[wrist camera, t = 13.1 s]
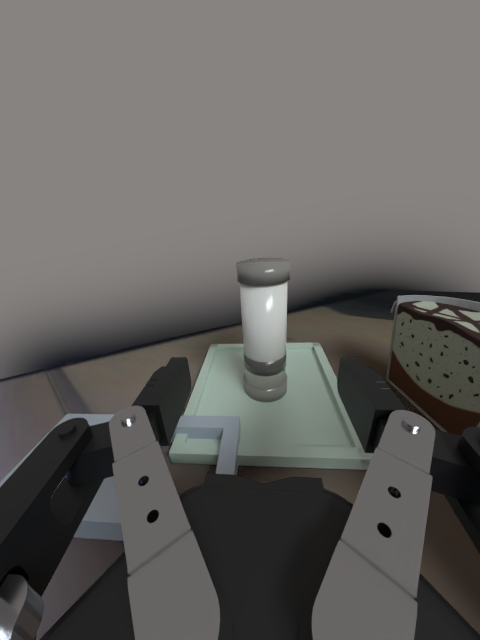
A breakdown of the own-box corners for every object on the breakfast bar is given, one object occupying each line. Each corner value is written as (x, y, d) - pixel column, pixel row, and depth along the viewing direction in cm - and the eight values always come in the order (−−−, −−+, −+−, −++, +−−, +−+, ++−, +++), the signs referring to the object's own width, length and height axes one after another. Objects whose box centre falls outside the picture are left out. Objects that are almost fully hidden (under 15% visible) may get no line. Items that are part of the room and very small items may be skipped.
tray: (171, 463, 19) (168, 453, 19) (211, 350, 36) (210, 344, 35) (372, 470, 18) (375, 459, 17) (318, 349, 34) (319, 342, 34)
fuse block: (-17, 531, 16) (-32, 514, 15) (74, 428, 23) (67, 413, 23) (231, 548, 14) (228, 529, 13) (241, 432, 22) (239, 416, 21)
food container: (556, 458, 18) (635, 344, 14) (483, 469, 18) (543, 354, 14) (424, 366, 29) (447, 289, 25) (377, 372, 29) (394, 294, 25)
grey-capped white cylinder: (243, 402, 25) (233, 268, 19) (245, 374, 29) (238, 259, 24) (289, 402, 24) (293, 266, 19) (284, 374, 29) (287, 257, 23)
